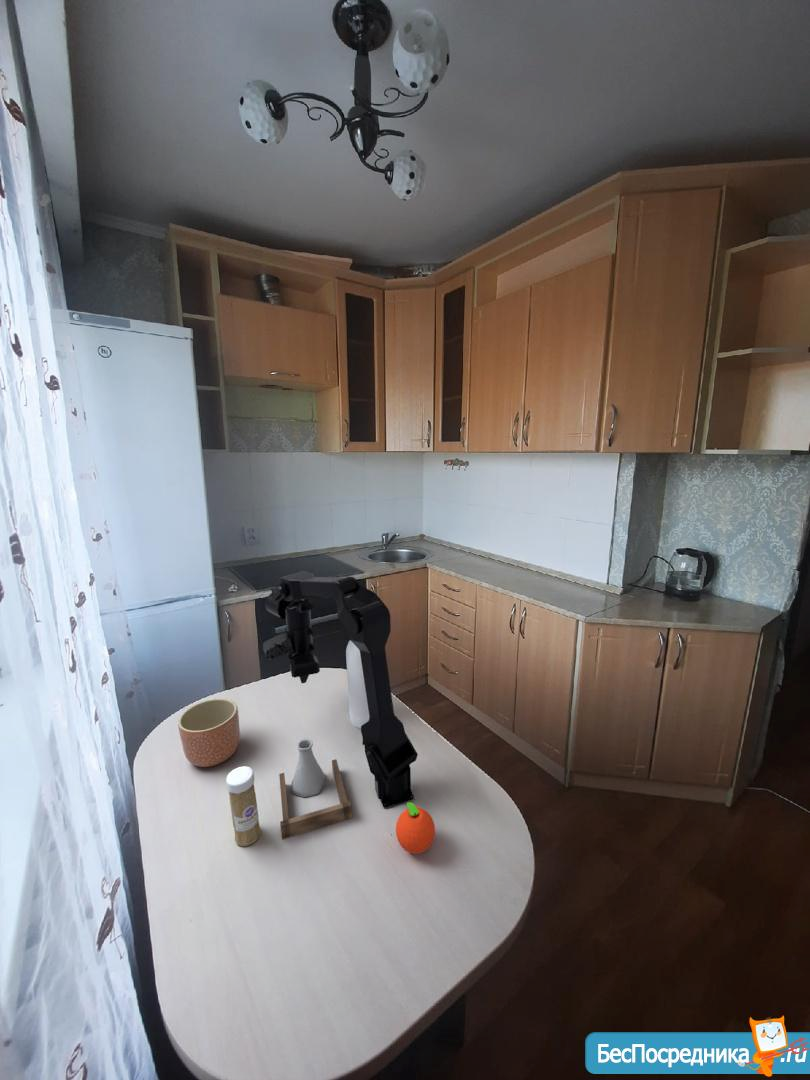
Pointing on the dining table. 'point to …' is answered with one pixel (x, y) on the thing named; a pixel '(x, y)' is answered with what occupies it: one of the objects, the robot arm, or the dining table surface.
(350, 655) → the bottle
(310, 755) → the flask
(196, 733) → the planter
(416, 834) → the clementine
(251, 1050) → the dining table surface
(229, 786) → the sprinkles bottle
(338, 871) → the dining table surface
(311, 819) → the bay
